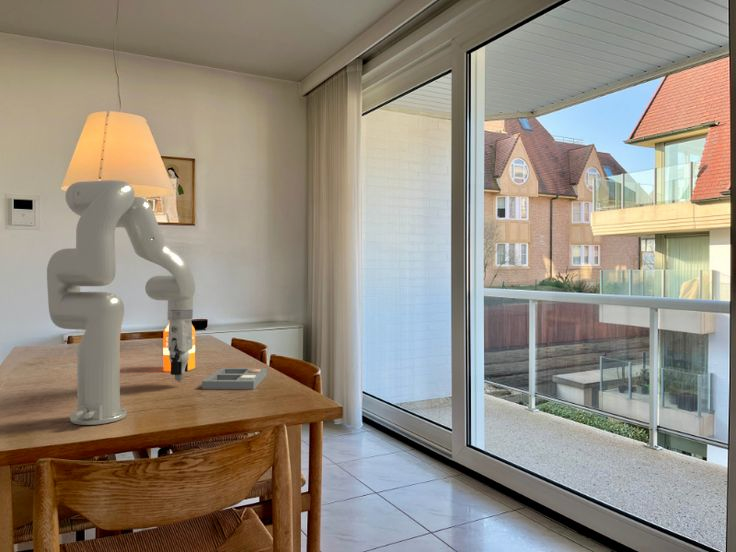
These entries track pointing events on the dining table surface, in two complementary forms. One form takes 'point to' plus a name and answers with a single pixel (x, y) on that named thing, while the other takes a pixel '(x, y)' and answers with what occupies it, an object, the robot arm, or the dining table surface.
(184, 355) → the lightbulb
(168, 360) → the orange juice
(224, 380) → the socket board
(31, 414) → the dining table surface
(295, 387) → the dining table surface
